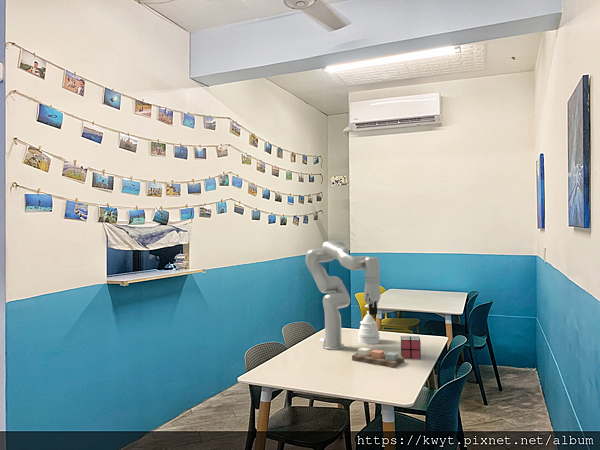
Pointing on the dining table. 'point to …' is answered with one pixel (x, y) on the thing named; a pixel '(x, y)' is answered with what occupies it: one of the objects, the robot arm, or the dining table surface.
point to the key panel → (378, 360)
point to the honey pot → (368, 331)
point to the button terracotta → (377, 354)
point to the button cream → (364, 351)
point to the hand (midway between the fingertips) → (373, 314)
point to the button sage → (391, 356)
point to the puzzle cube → (410, 347)
